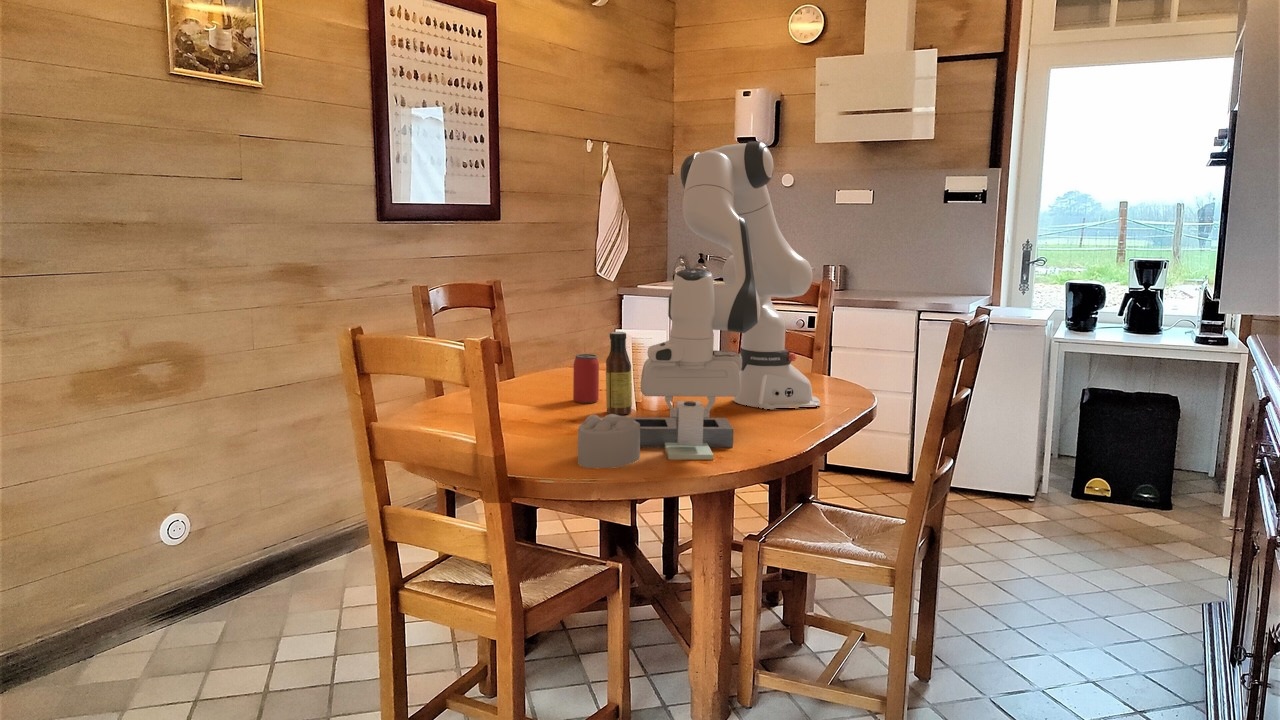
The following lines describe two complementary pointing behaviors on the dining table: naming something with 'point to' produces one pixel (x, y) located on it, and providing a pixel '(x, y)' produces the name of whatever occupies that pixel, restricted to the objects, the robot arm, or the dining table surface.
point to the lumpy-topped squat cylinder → (608, 441)
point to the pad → (688, 451)
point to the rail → (664, 431)
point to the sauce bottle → (618, 376)
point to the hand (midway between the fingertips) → (689, 417)
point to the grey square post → (689, 423)
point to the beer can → (586, 378)
